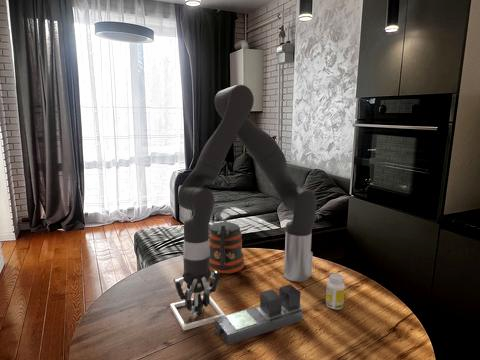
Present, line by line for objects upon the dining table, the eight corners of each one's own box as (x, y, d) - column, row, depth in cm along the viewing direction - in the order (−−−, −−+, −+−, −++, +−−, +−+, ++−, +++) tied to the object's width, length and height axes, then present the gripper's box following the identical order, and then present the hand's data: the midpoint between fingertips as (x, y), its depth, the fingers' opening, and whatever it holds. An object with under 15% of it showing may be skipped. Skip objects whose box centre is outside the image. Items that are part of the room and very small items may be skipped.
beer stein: (245, 280, 121) (246, 227, 117) (204, 281, 121) (204, 227, 117) (243, 258, 140) (243, 211, 136) (207, 258, 139) (207, 211, 135)
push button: (203, 320, 98) (202, 288, 96) (185, 318, 98) (184, 287, 96) (208, 307, 104) (208, 277, 102) (191, 306, 105) (190, 276, 103)
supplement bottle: (344, 303, 107) (346, 274, 106) (341, 311, 103) (344, 282, 101) (327, 299, 110) (329, 270, 108) (323, 307, 105) (325, 278, 103)
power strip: (289, 305, 106) (290, 281, 104) (305, 319, 99) (306, 293, 97) (209, 329, 93) (209, 302, 92) (221, 347, 86) (221, 318, 85)
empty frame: (208, 297, 109) (208, 294, 109) (225, 318, 98) (225, 314, 98) (170, 307, 104) (170, 304, 103) (183, 330, 93) (183, 326, 93)
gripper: (214, 245, 104) (214, 296, 107) (168, 253, 98) (170, 307, 101) (224, 254, 97) (224, 308, 101) (176, 263, 91) (177, 320, 94)
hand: (197, 307), depth 101 cm, fingers open, 4 cm apart
